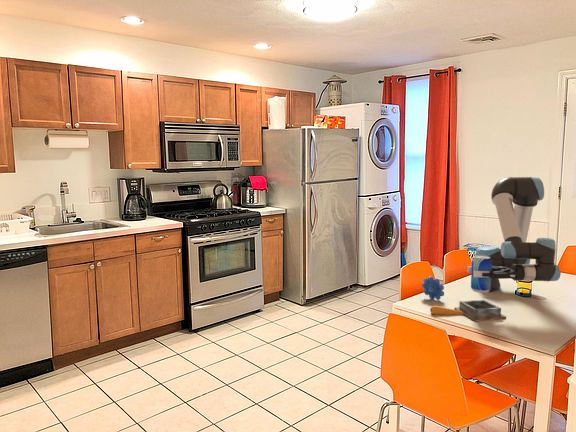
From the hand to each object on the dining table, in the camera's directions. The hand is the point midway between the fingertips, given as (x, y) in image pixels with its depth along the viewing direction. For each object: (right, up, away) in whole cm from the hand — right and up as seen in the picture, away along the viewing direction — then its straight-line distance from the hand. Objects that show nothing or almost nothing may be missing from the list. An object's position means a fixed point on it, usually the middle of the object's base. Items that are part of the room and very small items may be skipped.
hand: (470, 271), depth 206 cm
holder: (+5, -20, +2) cm, 21 cm away
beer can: (+5, -9, +1) cm, 10 cm away
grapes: (-10, -18, +24) cm, 31 cm away
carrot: (-8, -21, +2) cm, 22 cm away
